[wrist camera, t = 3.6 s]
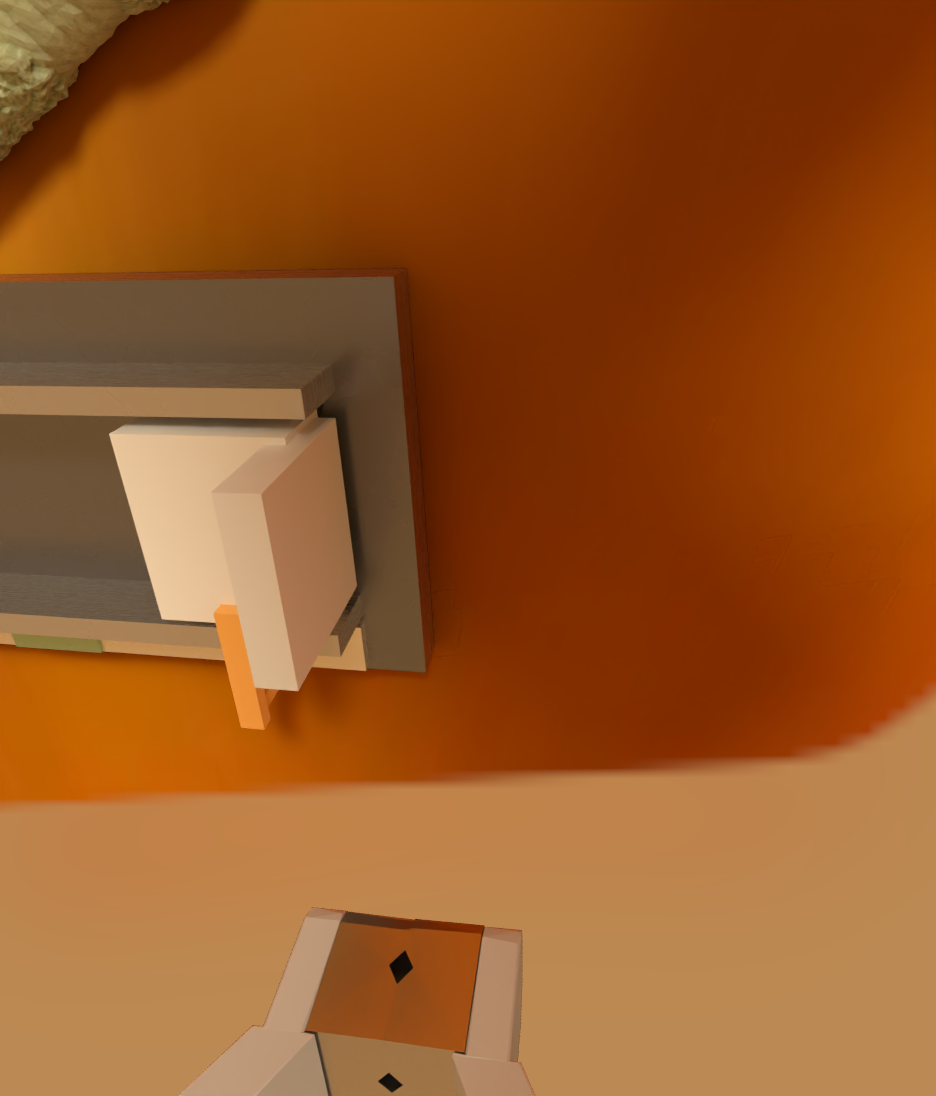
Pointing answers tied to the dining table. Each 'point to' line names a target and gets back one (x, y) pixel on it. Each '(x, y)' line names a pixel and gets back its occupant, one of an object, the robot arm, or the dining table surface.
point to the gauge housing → (201, 392)
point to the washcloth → (49, 53)
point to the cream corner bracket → (244, 538)
